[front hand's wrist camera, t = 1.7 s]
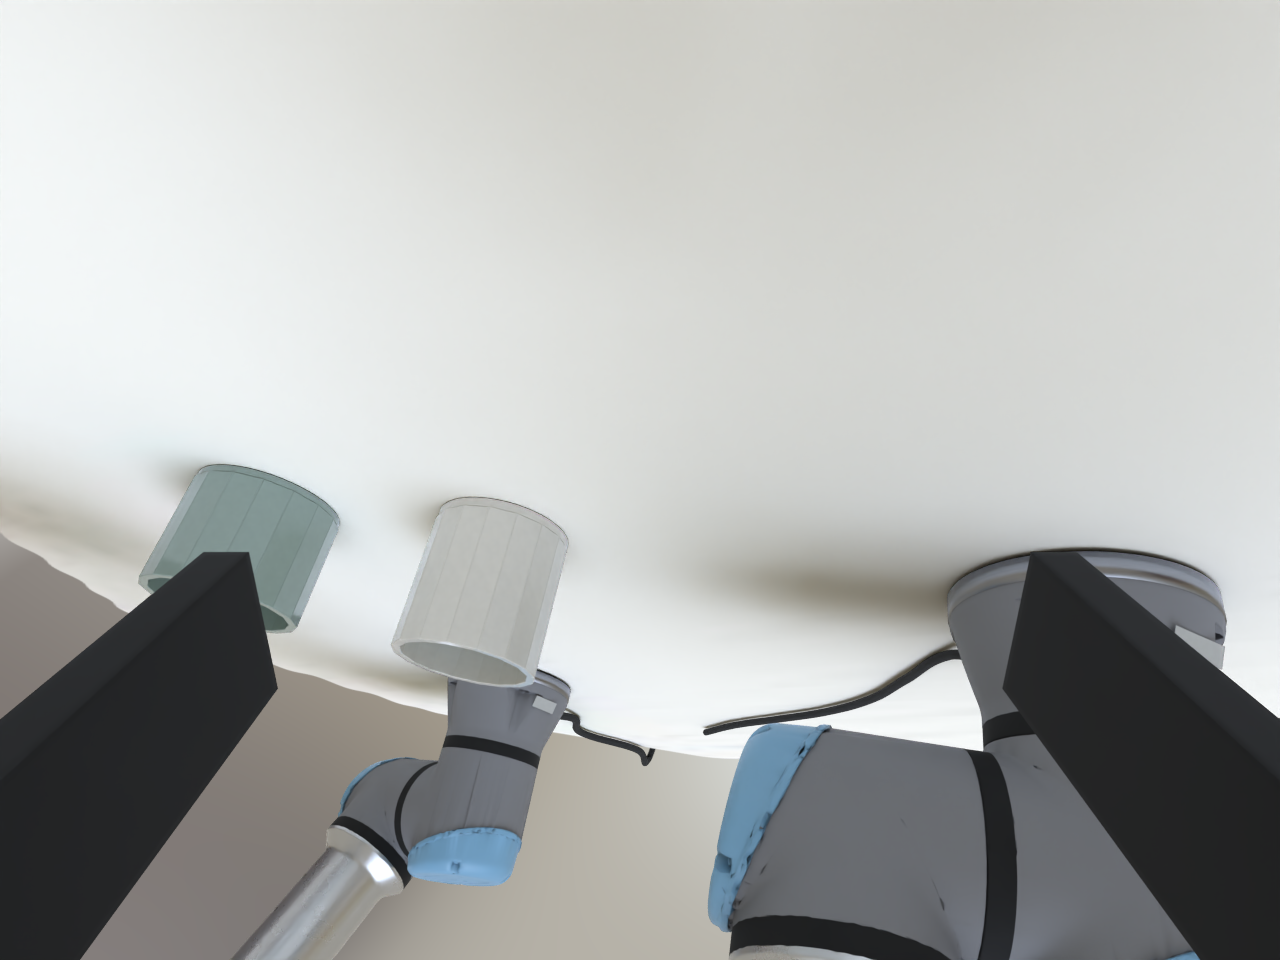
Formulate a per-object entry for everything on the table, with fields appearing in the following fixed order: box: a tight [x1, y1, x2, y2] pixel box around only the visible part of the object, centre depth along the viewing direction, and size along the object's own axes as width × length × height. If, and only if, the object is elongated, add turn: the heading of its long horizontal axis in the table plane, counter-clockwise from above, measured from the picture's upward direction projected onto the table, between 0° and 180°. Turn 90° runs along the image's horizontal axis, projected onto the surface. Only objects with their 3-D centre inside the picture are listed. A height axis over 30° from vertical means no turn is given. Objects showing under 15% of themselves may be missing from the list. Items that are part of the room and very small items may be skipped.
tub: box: [139, 465, 340, 633], centre depth 57 cm, size 11×11×9 cm
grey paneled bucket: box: [391, 497, 568, 687], centre depth 53 cm, size 10×10×10 cm
